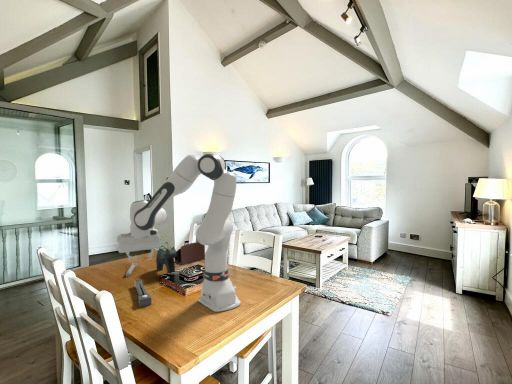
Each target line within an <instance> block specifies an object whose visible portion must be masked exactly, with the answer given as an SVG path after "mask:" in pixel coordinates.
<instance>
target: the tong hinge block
mask: <svg viewBox="0 0 512 384" xmlns="http://www.w3.org/2000/svg"><path fill="white" fill-rule="evenodd" d="M150 294H151V293H147V295H142V296H138V295H137V296H138V297H137V299H138V306H139V308H143V307H146V306H150V305H152V296H151V295H150Z"/></svg>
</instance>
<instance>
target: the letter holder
mask: <svg viewBox="0 0 512 384" xmlns="http://www.w3.org/2000/svg"><path fill="white" fill-rule="evenodd" d="M205 250H206V245H202V244H200V243H199V242H198V241H196V242H191V243H188V244H185V245H182V246H180V248H179V249H177V250H176V257H175V258H174V264H178V265H180V266H185V265H187V264H192V263H195V262H199V261H203V260H204V261H205V253H206V251H205Z"/></svg>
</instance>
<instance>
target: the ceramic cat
mask: <svg viewBox="0 0 512 384" xmlns="http://www.w3.org/2000/svg"><path fill="white" fill-rule="evenodd" d="M165 244H167V245H169V243H168V241H167V242H165ZM176 251H177V250H176V249H175V246H173V247H172V246H169V247H165V246H164V245H161V247H160V248H158V250H157V252H156V258H155V259H156V260H155V263H156V270H157V271H159V272H160V271H163V270H164V265H165V268H166V271H167V272H166V273H171V272H175V273H176V265H175V264H176V263H175V257H176Z"/></svg>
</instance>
